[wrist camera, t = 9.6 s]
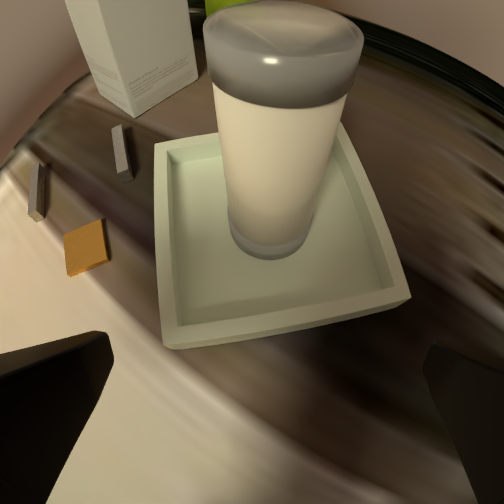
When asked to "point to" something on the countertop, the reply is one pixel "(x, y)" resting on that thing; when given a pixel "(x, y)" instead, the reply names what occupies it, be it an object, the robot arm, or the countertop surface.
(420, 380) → the countertop surface
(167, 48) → the supplement box
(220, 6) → the soap dispenser
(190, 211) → the tray
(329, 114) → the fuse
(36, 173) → the blocks
